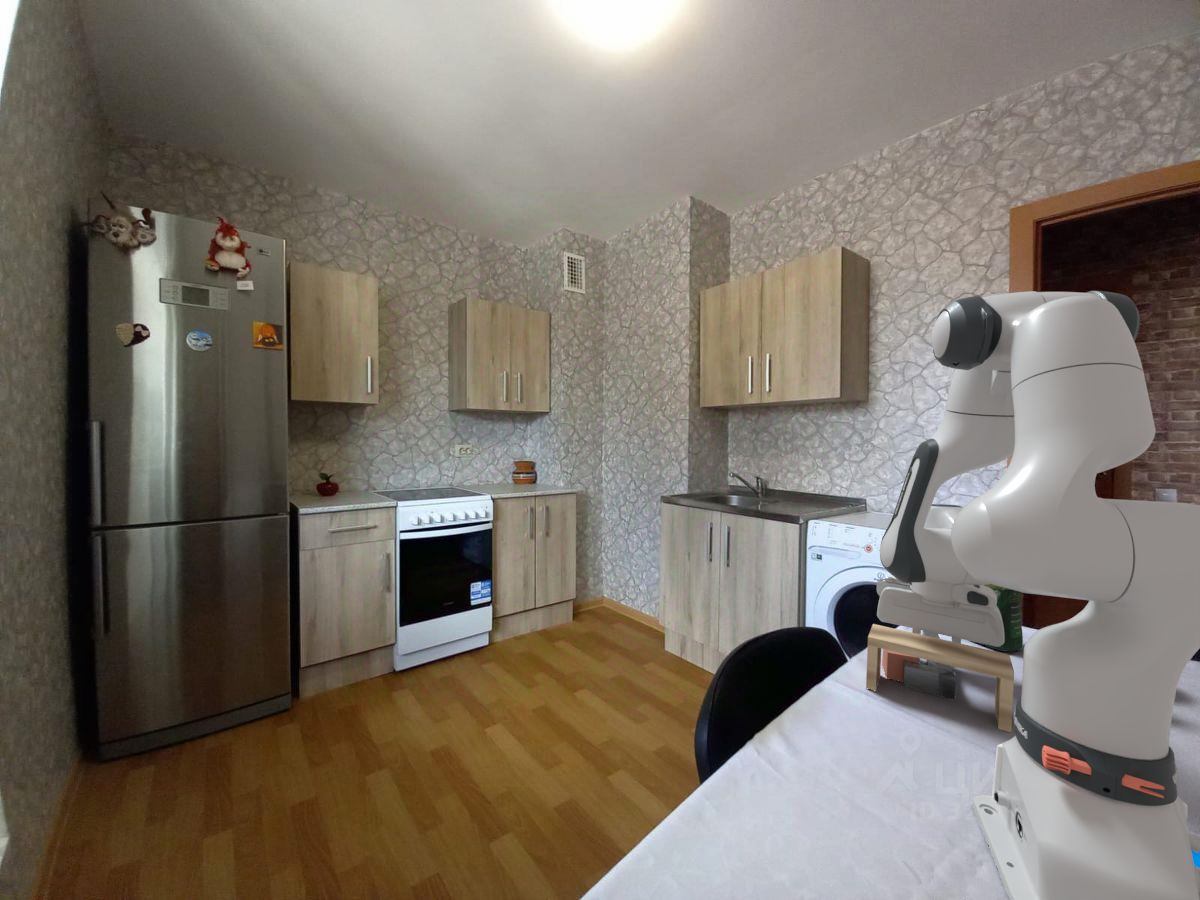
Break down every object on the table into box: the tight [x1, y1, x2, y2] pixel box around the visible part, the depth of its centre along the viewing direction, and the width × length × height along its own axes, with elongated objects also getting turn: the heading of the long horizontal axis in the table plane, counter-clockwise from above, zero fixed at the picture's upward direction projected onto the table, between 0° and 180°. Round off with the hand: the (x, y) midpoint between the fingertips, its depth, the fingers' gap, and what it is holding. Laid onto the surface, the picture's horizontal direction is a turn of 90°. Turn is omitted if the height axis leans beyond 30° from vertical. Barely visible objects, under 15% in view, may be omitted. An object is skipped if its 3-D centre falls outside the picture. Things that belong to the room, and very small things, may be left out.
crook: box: [902, 630, 957, 700], centre depth 91 cm, size 21×7×4 cm, turn 151°
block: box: [881, 649, 921, 682], centre depth 88 cm, size 5×5×5 cm
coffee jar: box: [976, 584, 1024, 653], centre depth 101 cm, size 10×8×19 cm
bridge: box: [865, 623, 1015, 733], centre depth 80 cm, size 7×20×10 cm, turn 53°
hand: (935, 653), depth 92 cm, fingers closed on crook, 3 cm apart
